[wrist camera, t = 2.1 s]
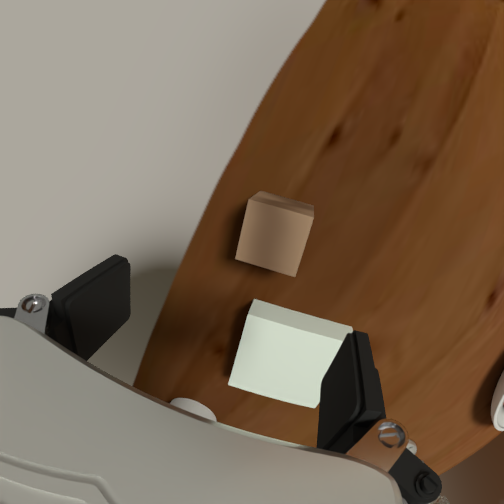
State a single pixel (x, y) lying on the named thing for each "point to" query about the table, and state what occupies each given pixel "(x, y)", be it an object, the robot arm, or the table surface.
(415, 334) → the table surface
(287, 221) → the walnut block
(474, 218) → the table surface
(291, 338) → the plate
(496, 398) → the bowl
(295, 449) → the robot arm
